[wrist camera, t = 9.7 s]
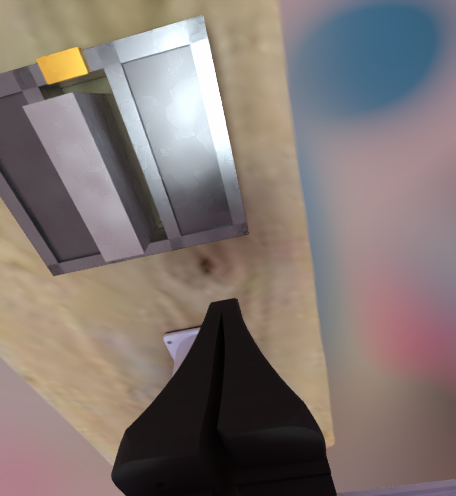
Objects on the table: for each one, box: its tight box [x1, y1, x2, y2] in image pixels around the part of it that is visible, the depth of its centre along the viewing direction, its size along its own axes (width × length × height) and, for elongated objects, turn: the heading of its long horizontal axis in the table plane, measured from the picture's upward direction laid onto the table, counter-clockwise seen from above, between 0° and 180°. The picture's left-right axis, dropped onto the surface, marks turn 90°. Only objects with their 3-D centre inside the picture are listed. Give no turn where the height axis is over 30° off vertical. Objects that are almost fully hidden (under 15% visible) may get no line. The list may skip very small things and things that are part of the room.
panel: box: [22, 92, 161, 262], centre depth 17 cm, size 9×3×6 cm, turn 13°
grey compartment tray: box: [0, 15, 249, 276], centre depth 19 cm, size 13×16×3 cm
